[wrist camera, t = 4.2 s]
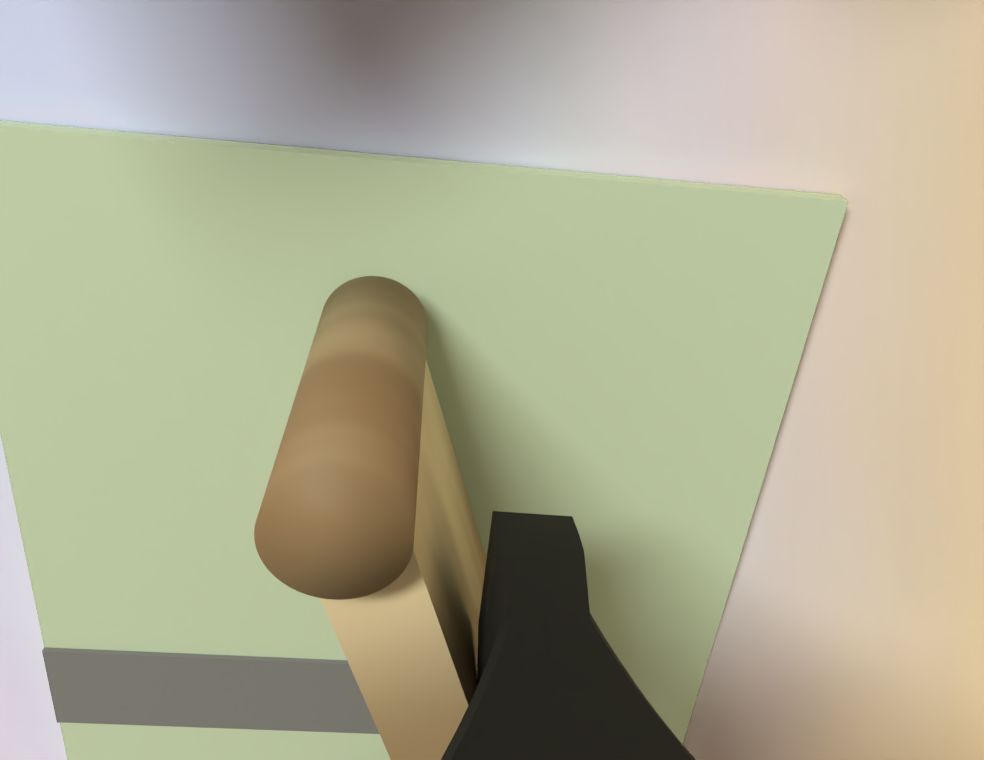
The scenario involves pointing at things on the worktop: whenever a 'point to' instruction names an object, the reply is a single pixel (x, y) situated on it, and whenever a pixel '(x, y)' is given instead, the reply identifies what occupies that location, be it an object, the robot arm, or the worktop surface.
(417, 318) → the hinged panel
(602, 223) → the board
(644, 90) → the worktop surface
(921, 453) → the worktop surface
